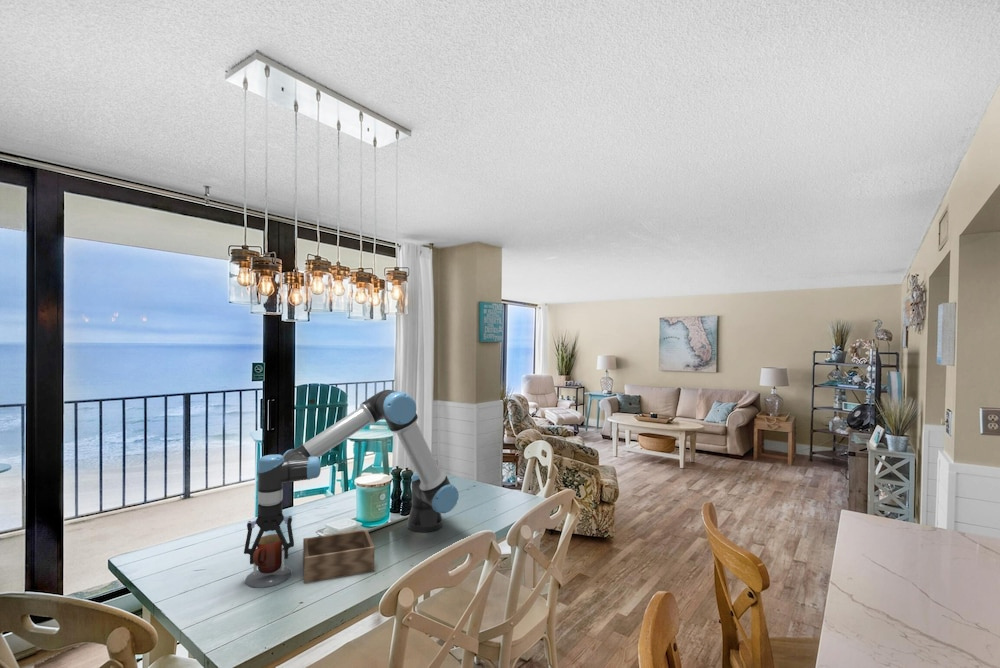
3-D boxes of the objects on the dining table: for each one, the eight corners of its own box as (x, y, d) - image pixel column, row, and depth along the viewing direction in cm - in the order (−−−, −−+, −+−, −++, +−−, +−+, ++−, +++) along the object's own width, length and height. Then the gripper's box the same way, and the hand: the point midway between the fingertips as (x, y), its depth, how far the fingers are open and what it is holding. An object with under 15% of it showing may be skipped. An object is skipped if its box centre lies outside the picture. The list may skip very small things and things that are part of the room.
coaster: (291, 564, 170) (291, 563, 170) (291, 582, 157) (291, 581, 157) (246, 572, 164) (247, 570, 164) (243, 591, 152) (243, 589, 152)
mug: (266, 562, 167) (267, 533, 167) (289, 565, 166) (289, 535, 166) (242, 579, 155) (242, 547, 156) (266, 582, 154) (266, 549, 154)
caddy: (366, 550, 182) (367, 529, 182) (374, 570, 166) (374, 547, 166) (303, 560, 173) (303, 538, 173) (304, 583, 157) (304, 558, 157)
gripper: (303, 495, 169) (302, 560, 168) (236, 502, 161) (235, 571, 160) (303, 501, 162) (302, 570, 161) (234, 509, 154) (232, 581, 153)
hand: (269, 570), depth 161 cm, fingers closed on mug, 8 cm apart
